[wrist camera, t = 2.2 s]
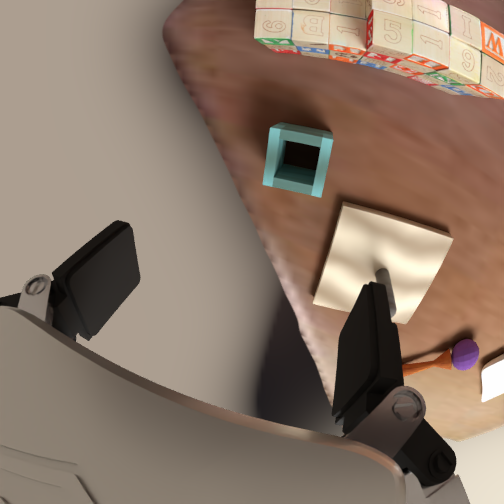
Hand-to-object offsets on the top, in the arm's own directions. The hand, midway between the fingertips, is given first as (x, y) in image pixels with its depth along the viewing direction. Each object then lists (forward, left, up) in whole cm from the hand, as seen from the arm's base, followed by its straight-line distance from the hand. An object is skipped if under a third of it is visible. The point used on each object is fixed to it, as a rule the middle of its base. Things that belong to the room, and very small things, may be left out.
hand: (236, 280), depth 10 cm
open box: (0, 0, -24) cm, 24 cm away
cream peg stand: (+13, +14, -24) cm, 31 cm away
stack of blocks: (-15, +6, -25) cm, 29 cm away
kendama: (+29, +33, -25) cm, 51 cm away
